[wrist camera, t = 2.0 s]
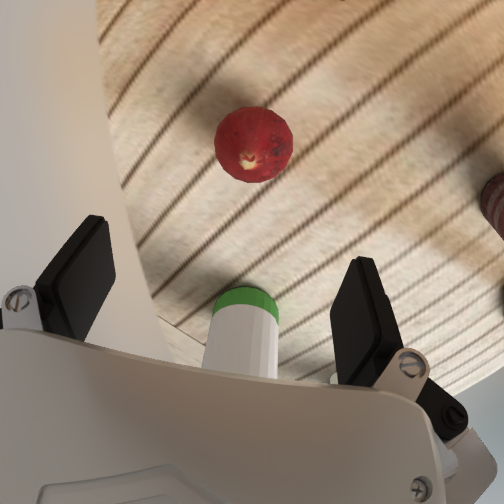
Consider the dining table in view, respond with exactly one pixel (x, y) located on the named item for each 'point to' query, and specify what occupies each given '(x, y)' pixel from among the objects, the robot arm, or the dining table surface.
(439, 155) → the dining table surface
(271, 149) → the onion
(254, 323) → the wine bottle
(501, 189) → the can
